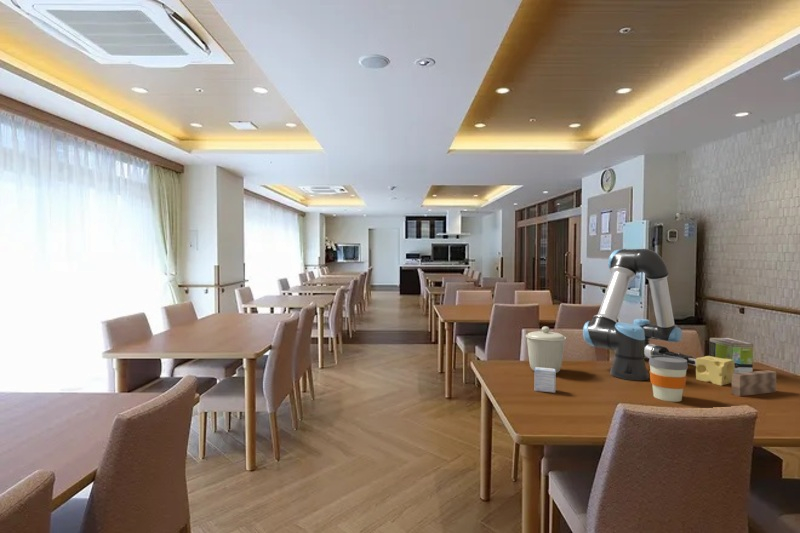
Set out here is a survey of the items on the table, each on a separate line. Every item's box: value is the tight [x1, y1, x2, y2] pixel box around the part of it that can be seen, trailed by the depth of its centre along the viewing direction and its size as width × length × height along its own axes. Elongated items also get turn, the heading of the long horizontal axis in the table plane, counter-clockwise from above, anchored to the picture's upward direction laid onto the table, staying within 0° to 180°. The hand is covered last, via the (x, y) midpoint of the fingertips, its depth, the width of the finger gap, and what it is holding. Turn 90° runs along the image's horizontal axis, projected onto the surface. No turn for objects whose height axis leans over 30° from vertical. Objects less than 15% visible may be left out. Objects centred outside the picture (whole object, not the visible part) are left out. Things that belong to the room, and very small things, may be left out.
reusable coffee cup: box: [648, 355, 689, 403], centre depth 159 cm, size 13×13×15 cm
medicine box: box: [534, 367, 557, 393], centre depth 167 cm, size 8×4×9 cm, turn 71°
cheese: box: [695, 355, 735, 387], centre depth 182 cm, size 10×11×10 cm
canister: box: [525, 326, 567, 374], centre depth 196 cm, size 18×18×21 cm
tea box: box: [708, 337, 754, 373], centre depth 199 cm, size 15×10×15 cm, turn 179°
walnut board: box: [731, 369, 777, 397], centre depth 166 cm, size 20×3×8 cm, turn 106°
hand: (703, 364), depth 188 cm, fingers closed
